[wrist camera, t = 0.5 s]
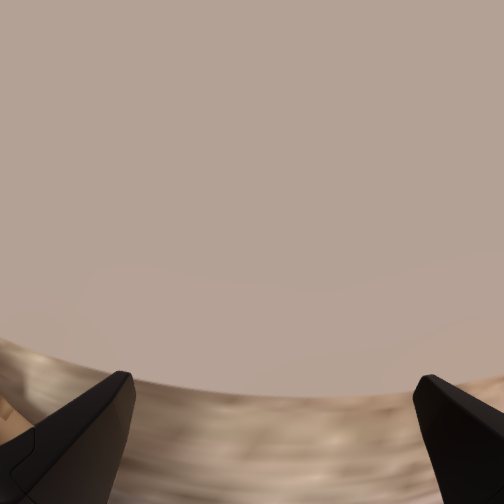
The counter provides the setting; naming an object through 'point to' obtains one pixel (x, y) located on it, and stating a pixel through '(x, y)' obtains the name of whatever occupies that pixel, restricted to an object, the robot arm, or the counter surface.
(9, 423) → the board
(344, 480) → the counter surface
